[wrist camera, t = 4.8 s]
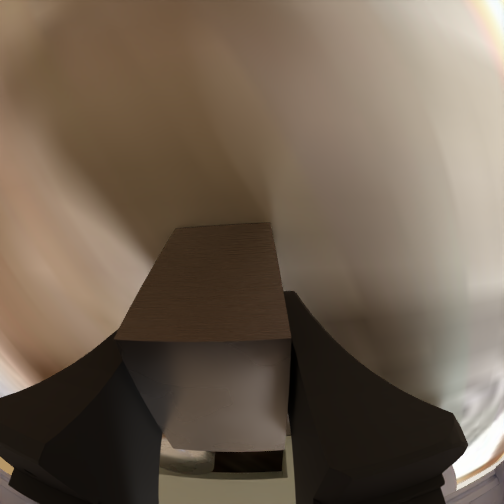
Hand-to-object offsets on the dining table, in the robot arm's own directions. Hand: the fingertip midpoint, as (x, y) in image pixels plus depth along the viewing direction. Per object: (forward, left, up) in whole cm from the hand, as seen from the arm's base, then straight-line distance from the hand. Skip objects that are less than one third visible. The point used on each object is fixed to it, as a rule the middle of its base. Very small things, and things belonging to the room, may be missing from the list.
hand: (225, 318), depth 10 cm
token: (+5, +14, -2) cm, 15 cm away
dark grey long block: (0, +5, -2) cm, 6 cm away
